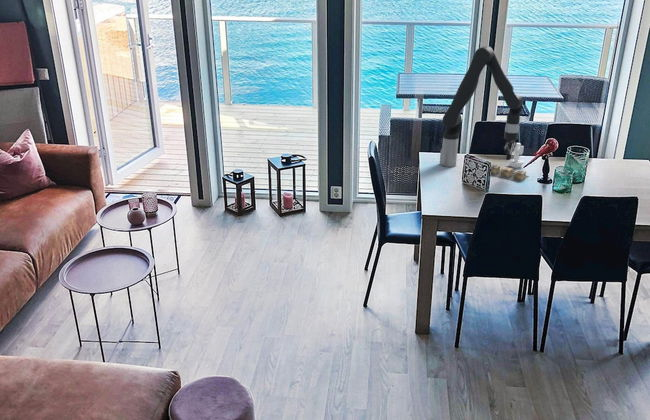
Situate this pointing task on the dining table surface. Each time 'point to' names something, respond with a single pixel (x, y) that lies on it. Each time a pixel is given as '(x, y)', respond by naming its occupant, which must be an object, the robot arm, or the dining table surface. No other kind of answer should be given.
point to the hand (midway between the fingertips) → (508, 159)
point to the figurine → (516, 156)
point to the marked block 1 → (495, 168)
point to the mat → (507, 177)
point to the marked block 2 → (519, 174)
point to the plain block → (506, 171)
